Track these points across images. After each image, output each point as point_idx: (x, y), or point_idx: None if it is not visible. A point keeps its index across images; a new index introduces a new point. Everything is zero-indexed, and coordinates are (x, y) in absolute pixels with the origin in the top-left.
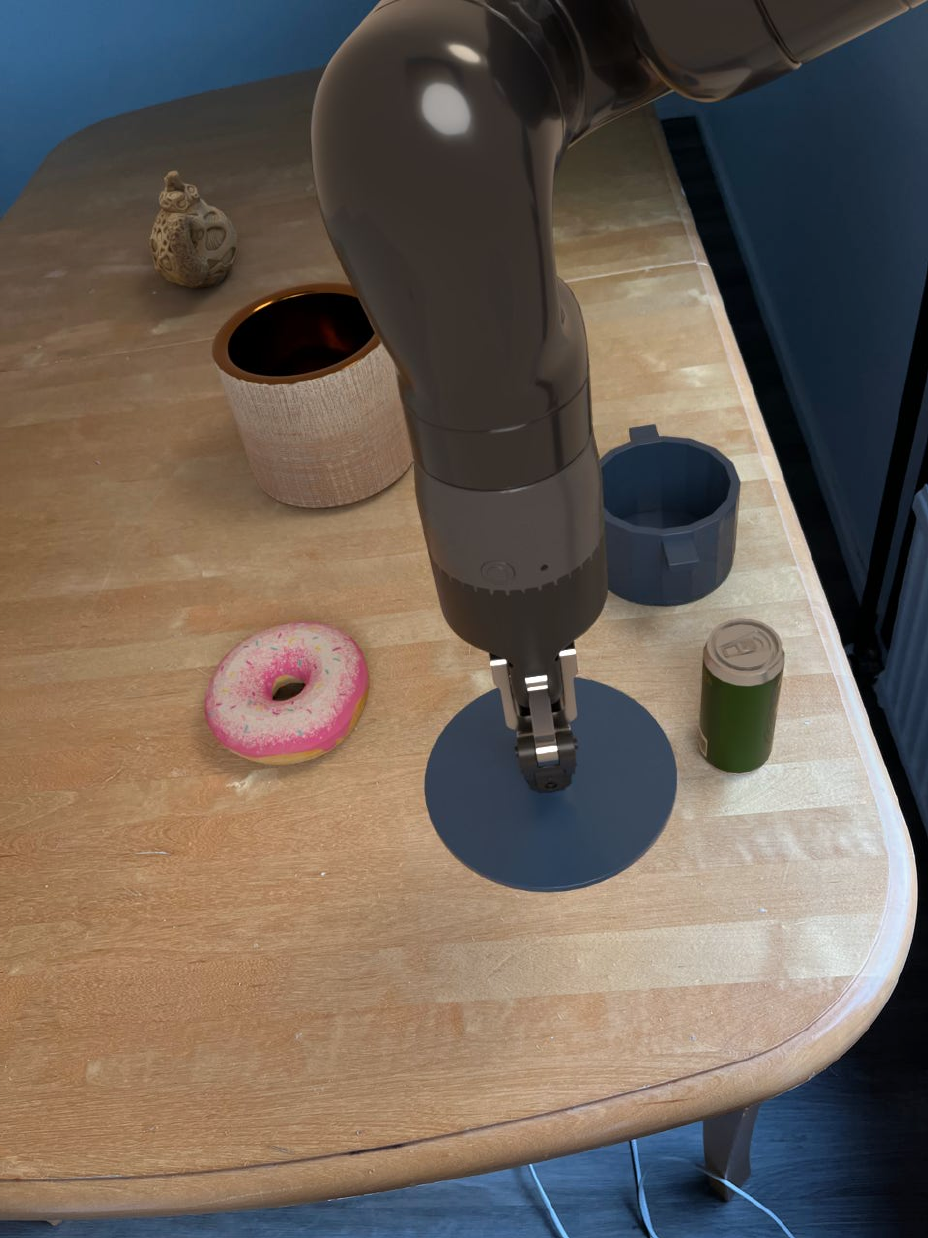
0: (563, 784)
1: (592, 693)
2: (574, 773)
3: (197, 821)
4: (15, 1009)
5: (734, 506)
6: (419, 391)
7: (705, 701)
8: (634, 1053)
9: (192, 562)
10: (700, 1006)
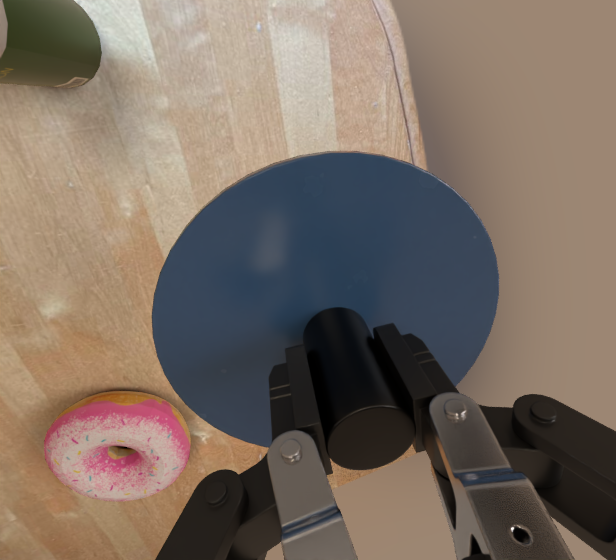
0: (427, 348)
1: (183, 295)
2: (560, 403)
3: (236, 448)
4: (354, 478)
5: None
6: None
7: (32, 78)
8: (385, 152)
9: (3, 529)
10: (351, 96)
